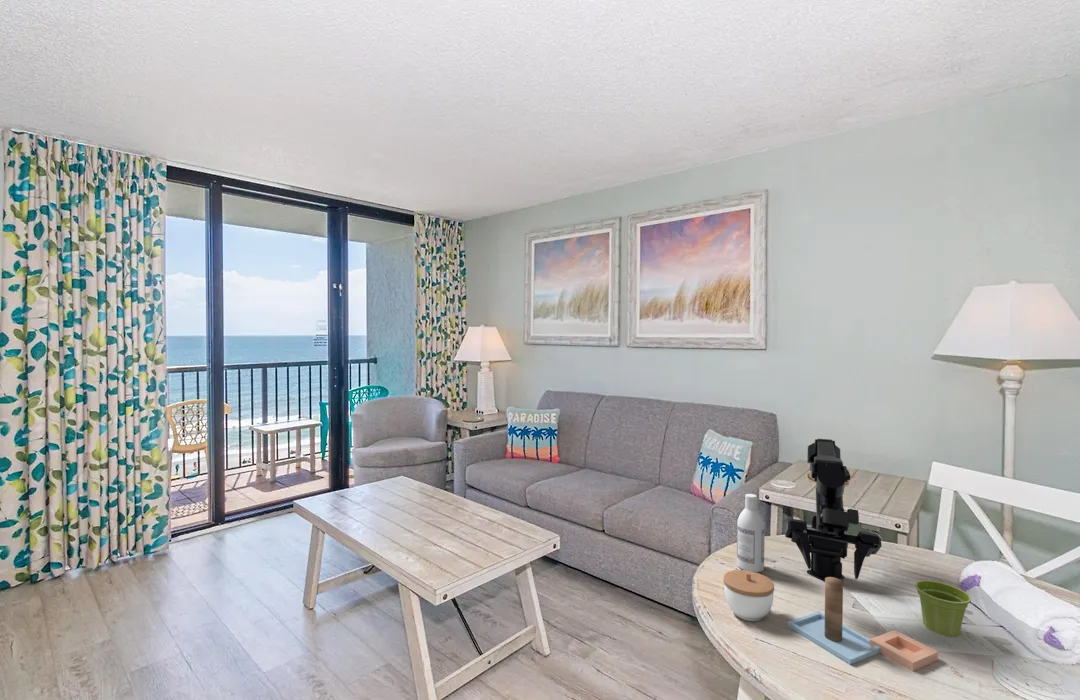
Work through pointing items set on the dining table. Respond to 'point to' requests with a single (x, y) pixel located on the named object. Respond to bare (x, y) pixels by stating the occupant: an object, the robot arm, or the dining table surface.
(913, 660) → the holder
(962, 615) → the plant pot
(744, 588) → the lidded jar
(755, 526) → the bath foam
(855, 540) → the robot arm
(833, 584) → the peg
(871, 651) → the tray
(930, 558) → the dining table surface
